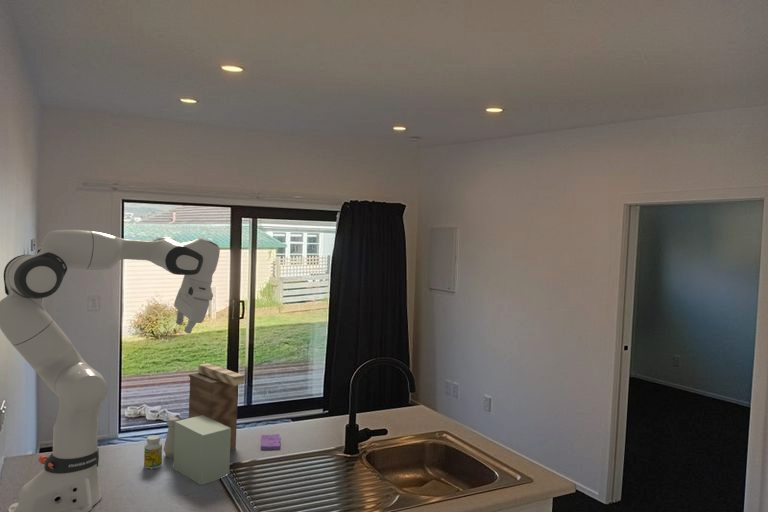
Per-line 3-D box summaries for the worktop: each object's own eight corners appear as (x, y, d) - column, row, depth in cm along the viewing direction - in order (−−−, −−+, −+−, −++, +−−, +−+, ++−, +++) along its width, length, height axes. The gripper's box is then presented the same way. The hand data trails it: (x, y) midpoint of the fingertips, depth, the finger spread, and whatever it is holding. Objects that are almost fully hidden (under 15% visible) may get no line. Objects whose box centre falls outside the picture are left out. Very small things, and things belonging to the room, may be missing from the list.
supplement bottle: (164, 463, 185) (165, 435, 185) (156, 470, 180) (157, 440, 180) (149, 462, 186) (150, 433, 185) (140, 468, 180) (141, 439, 180)
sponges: (260, 451, 201) (260, 446, 201) (261, 438, 213) (261, 433, 213) (280, 450, 202) (280, 445, 202) (279, 438, 215) (279, 433, 215)
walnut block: (208, 457, 192) (211, 382, 192) (186, 445, 202) (189, 374, 201) (236, 448, 201) (239, 377, 200) (214, 437, 211) (217, 369, 210)
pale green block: (200, 485, 171) (202, 435, 170) (173, 468, 182) (174, 421, 181) (229, 475, 178) (230, 428, 178) (200, 460, 189) (202, 415, 189)
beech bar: (244, 383, 192) (244, 375, 192) (234, 385, 189) (234, 377, 189) (208, 371, 207) (208, 363, 207) (198, 372, 204) (198, 364, 204)
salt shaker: (184, 453, 195) (185, 416, 194) (176, 459, 189) (177, 421, 189) (168, 451, 195) (169, 415, 195) (160, 457, 190) (161, 420, 189)
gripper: (176, 278, 186) (164, 318, 187) (195, 293, 170) (182, 336, 170) (194, 282, 190) (183, 321, 190) (215, 297, 174) (202, 339, 174)
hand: (182, 328), depth 180 cm, fingers open, 8 cm apart
